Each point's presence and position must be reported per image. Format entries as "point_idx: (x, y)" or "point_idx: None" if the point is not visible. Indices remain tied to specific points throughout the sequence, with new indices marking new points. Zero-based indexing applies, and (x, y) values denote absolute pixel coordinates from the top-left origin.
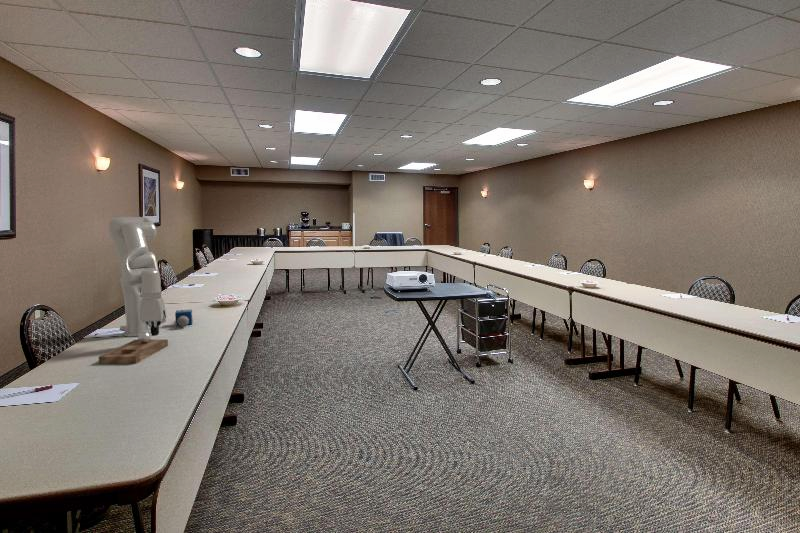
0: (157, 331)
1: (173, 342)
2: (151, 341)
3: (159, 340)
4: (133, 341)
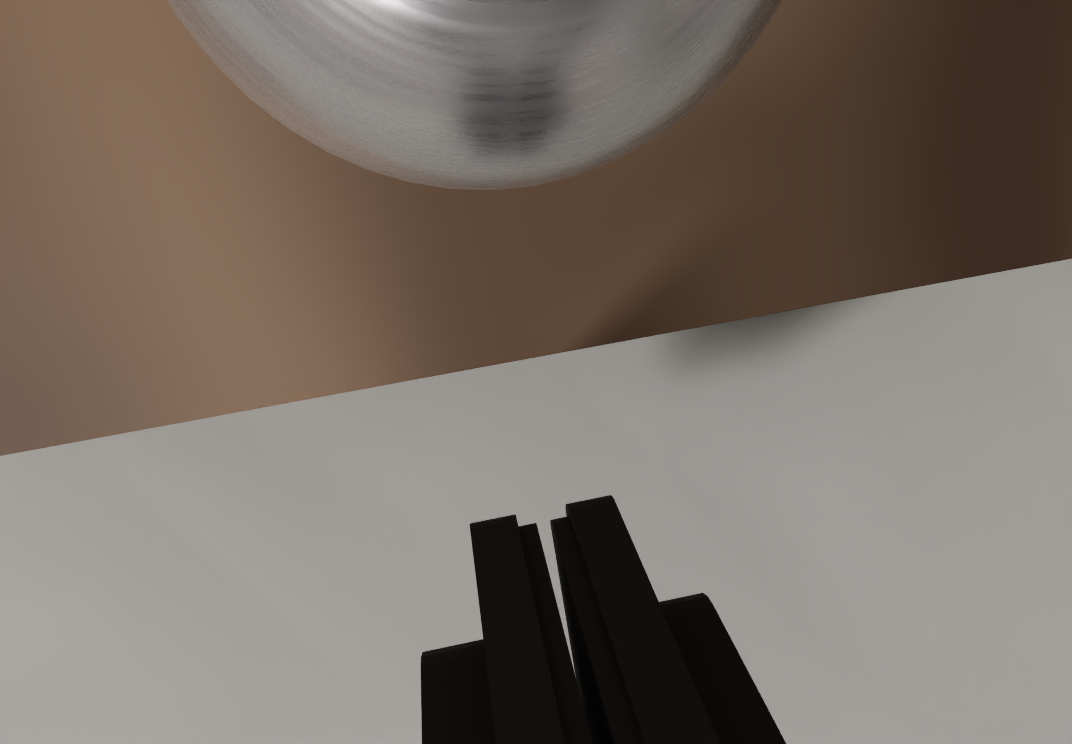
0: (427, 727)
1: (157, 660)
2: None
3: (115, 310)
4: (1064, 18)
